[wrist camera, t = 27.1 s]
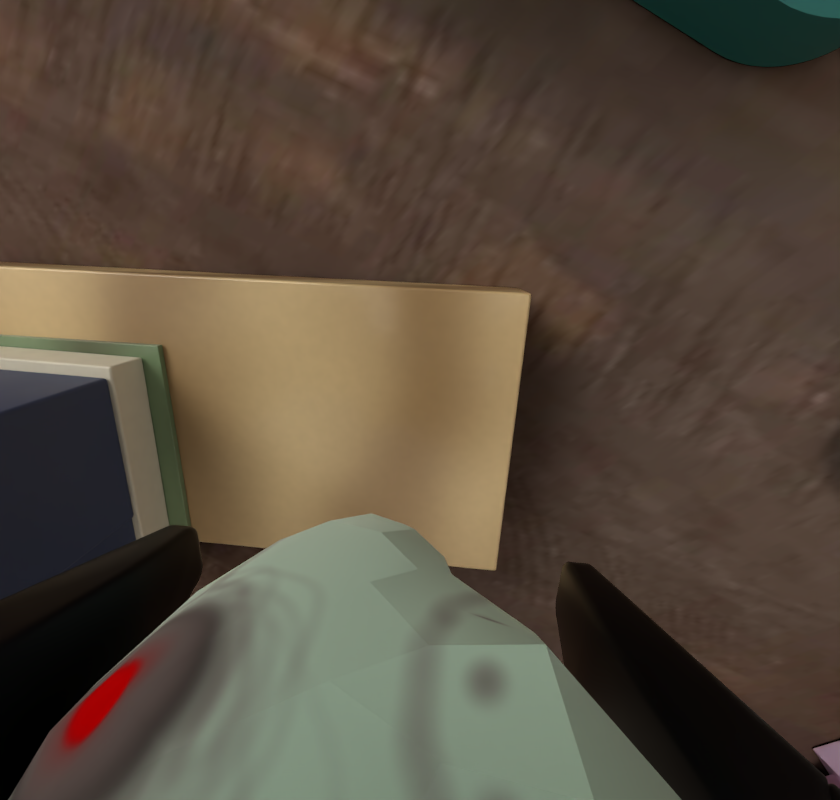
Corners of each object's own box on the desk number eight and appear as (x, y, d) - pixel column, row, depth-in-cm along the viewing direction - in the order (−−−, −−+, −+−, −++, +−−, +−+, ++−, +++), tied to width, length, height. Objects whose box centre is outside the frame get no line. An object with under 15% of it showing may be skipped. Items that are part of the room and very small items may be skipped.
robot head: (286, 653, 10) (-47, 1329, 4) (176, 527, 9) (-497, 1129, 3) (599, 532, 8) (1131, 1781, 1) (492, 348, 7) (616, 1443, 1)
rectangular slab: (518, 287, 13) (533, 293, 10) (490, 526, 16) (496, 576, 13) (-55, 259, 14) (-164, 258, 12) (15, 482, 17) (-61, 521, 15)
